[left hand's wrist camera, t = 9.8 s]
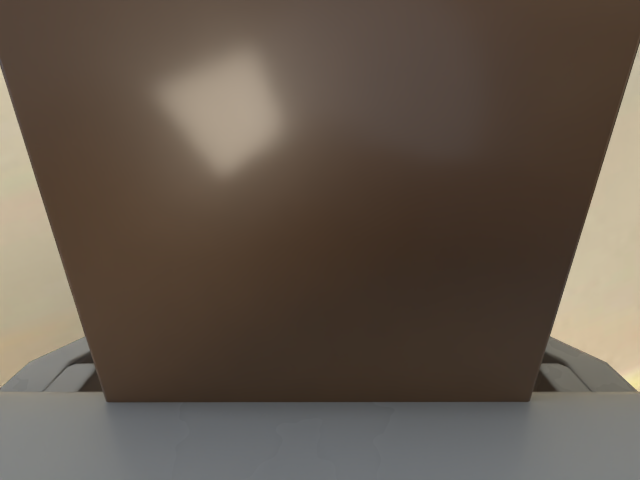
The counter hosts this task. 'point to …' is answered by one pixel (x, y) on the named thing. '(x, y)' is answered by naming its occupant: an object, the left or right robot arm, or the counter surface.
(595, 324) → the counter surface
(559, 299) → the box
